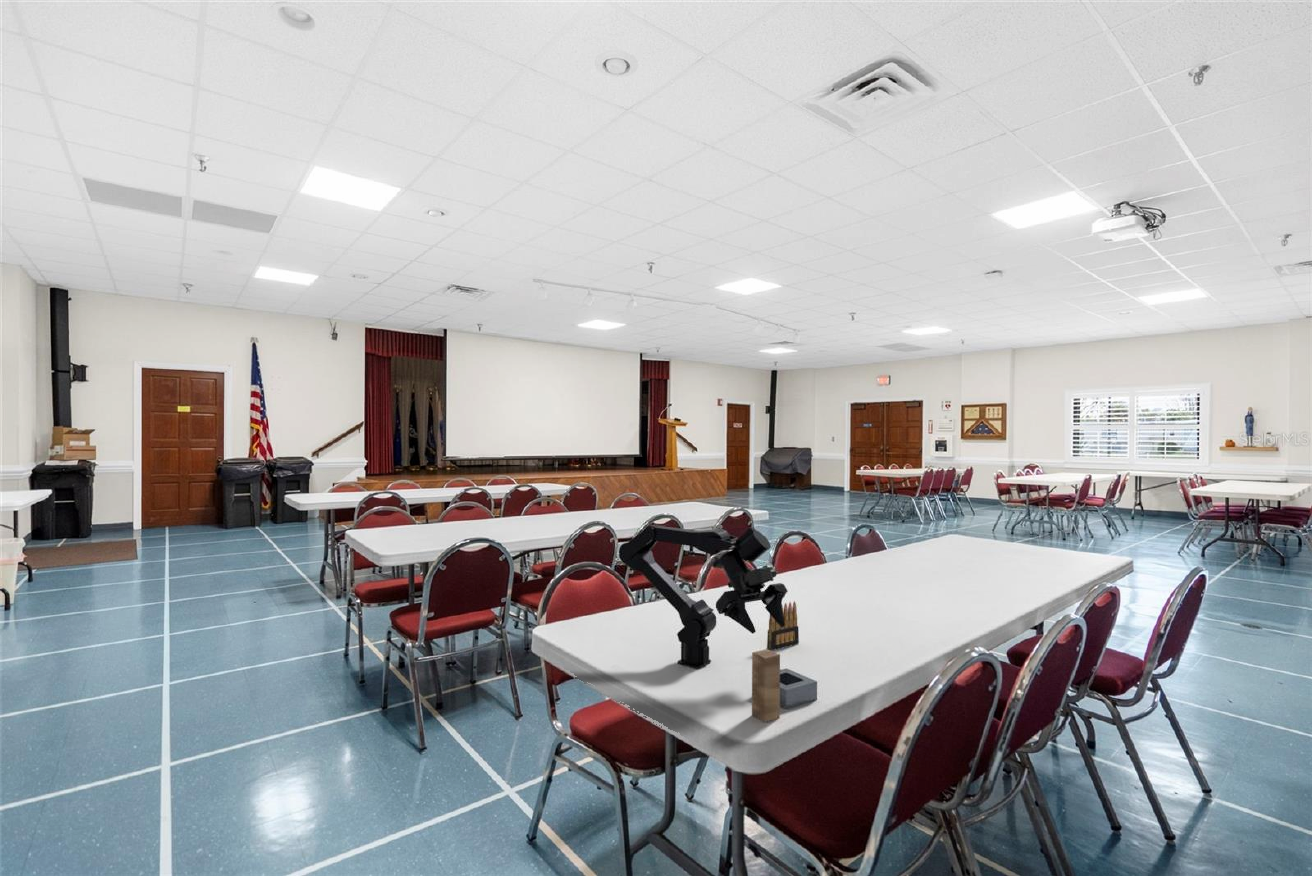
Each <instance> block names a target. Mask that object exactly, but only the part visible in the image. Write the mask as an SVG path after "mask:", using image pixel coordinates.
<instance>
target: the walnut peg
mask: <svg viewBox="0 0 1312 876" xmlns="http://www.w3.org/2000/svg"><path fill="white" fill-rule="evenodd" d="M780 658H781V655H780V654H779V653H777V652H774V651H773V650H770V649H767V648H766V649H762V650H758V651H754V652H752V654H751V659H752V660H751V662H752V663H751V664H752V665H751V716H752V717H754V718H756V719H758V720H760V721H761V720H762V721H761V722H764V723H768V722H771V721H770V720H772V721H774V720H777V718H778V719H780V713H781V711H780V709H781V706H780V670H781V659H780ZM767 721H768V722H767Z"/></svg>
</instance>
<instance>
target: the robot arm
mask: <svg viewBox="0 0 1312 876" xmlns="http://www.w3.org/2000/svg"><path fill="white" fill-rule="evenodd" d="M657 542H662V543H669V544H676V545H682V546H688V547H692V548H695V549H696V550H698V551H700V552H703V553H706V554H709V555H711V556H712V555H713V556H714V555H717V554H720V553H722V552H724V553H723V554H722V555H720V556H715V557H714V561H713V564H712V568H715V569H718V570H719V569H723V571H724V572H723V573H725V575H726V577H727V579H728V581H729V582H727V584H726V585H727V588H728V589H730V588H732V589H733V590H726V591H723V593H722V594H721V595H720V596H719V598H718V599H717V601H716V602H715V609H716V610H717V612H718V614H719V615H724V617H728V618H730V619H731V620H733V621H735V622H736V623H738V624H739V625H740V626H741V627H743V628H744V629H746V631H748V632H749V633H750V634H755V633H756V627H755V626H754V625H755V624H754V623H753V622H752V619H751V617H750V616H749V613H748V611H747V608H746V604H747V603H751V602H756V601H761V602H762V604H764V606H765V607H764V608H765V610H766V611H767V612H768V614H769V616H770V615H771V616H772V617H773V618H774V619H775V621H776V622H777V623H778V624H779V625H780V626H781V627H784V626H785V621H784V616H783V613H784V610H783V611H782V606H783V603H782V601H783V599H784V598H785V596H786V594H787V593H788V589H787V587H786V585H785V584H784V583H783V582H782V583H781V582H778V583H773V584H772V583H771V584H769V585H768V586H767V587H766V584H765V583H768V582H773V581H774V578H776V577H777V572H776V571H777V570H776V569H775V567H774V566H773V564H772V563H769V564H765V565H762V567H761V568H755V569H754V568H749V566H748V564H747V563H746V562H751V563H754V562H755V561H757V560H758V559H759V558H760V557H761V556H763V555H764V554H765V553H767V551H768V550H770V549H771V542H769V540H768V538H767V536H765V535H764V534H763V533H761V531H759V530H756V528H755V527H754V526H751V527H749V528H748V529H746V530H745V532H744V533H743V534H742V535H741V536H739V537H738V536H734V535H731V534H729V532H728V530H725V529H722V528H717V529H716V528H715V529H706V530H705V529H704V530H703V529H702V530H693V529H687V528H678V527H670V526H666V525H665V526H664V525H660V524H651V525H648V526H646V527H645V528H644V529H643V530H642V531H641V532H639V533H638V534H637V535H636V536H634V537H633V538H631V539H630V540H629V541H627V542H624V543H622V544H621V545H620V546H619V549H618V558H619V559H620V561H621V562H622V563H623V564H624V565H626V567H628V568H629V569H632V570H634V571H635V572H638V573H640V574H642V575H643V576H644V578H645V579H646V580H647V581H648V582H649V583H650V584H651V585H652V586H653V587H654V588H655V589H656V590H657V591H658V593H660V595H661V596H662V597H663V598H664V599H665V600H666V601H667V602H668V603H669V604H670V605H671V606H672V607H673V608H674V610H676V611H677V612H678V616H679V620H680V621H681V624H682V626H683V627H682V628H681V629H680V630H679V631H678V632H677V633H676V634H677V635H676V636H677V638H678V642H680V659H679V660H677V661H676V662H677V664H679V665H683V666H686V667H691V668H694V669H700V668H702V667H704V666H706V665H708V664H710V663H711V662H712V660H711V659H710V646H709V644H708V643H709V639H707V637H709V636H710V635H711V633H712V631H714V629H715V628H716V627H717V616H716V614H715V612H714V609H713V608H712V607H710V606H709V605H708V604H707V603H706V601H705V600H704V599H700V600H698V601H696V600H694V599H692V598H691V597H690V596H689V595H688V594H687V593H686V592H685V591H684V590H683V589H682V588H681V587H680V586H679V584H677V583H676V582H675V580H674V579H672V577H671V576H670V575H669V574H668V573H667V572H666V571H665V570H664V569H663V568H662V567H661V566H660V565H659V564H658V563H657V561H656V560H655V557H654V554H653V551H652V550H651V549H652V548H654V546H655V545H656V544H657ZM730 549H731V550H730ZM727 550H730V551H727ZM764 587H766V588H765V590H763V591H762V589H764Z"/></svg>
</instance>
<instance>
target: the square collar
mask: <svg viewBox="0 0 1312 876" xmlns="http://www.w3.org/2000/svg"><path fill="white" fill-rule="evenodd" d="M813 700H814V701H817V700H818V681H817V680H815V679H813V678H810V677H807V676H806V675H804V674H801V673H798V672H796V671H795V670H791V669H790V668H782V669H780V708H784V709H786V710H787V709H791V708H794V707H798V706H801V705H804V704H808V703H811V702H813ZM807 702H808V703H807Z"/></svg>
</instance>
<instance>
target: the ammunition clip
mask: <svg viewBox="0 0 1312 876" xmlns="http://www.w3.org/2000/svg"><path fill="white" fill-rule="evenodd" d="M796 603H797V602H796V601H793V603H791V601H789V603H788V604H787V602H785V603H784V605H782V611H783V616H784V621H785V626H784V627H781V626H780V625H779V624H778V623H777V622H776V621H775V619H774V618H773V617H772V616H771V615H770V614H769V619H768V629H767V640H766V641H767V644H766V649H767V650H770V651H774V650H775V649H776V650H779V649H778V648H780V649H783V648H782V647H784V648H787V647H791V646H790V645H792V646H795V645H794V644H796V645H798V644H797V643H800V638H799V625H798V614H797V613H798V612H797V604H796Z"/></svg>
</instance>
